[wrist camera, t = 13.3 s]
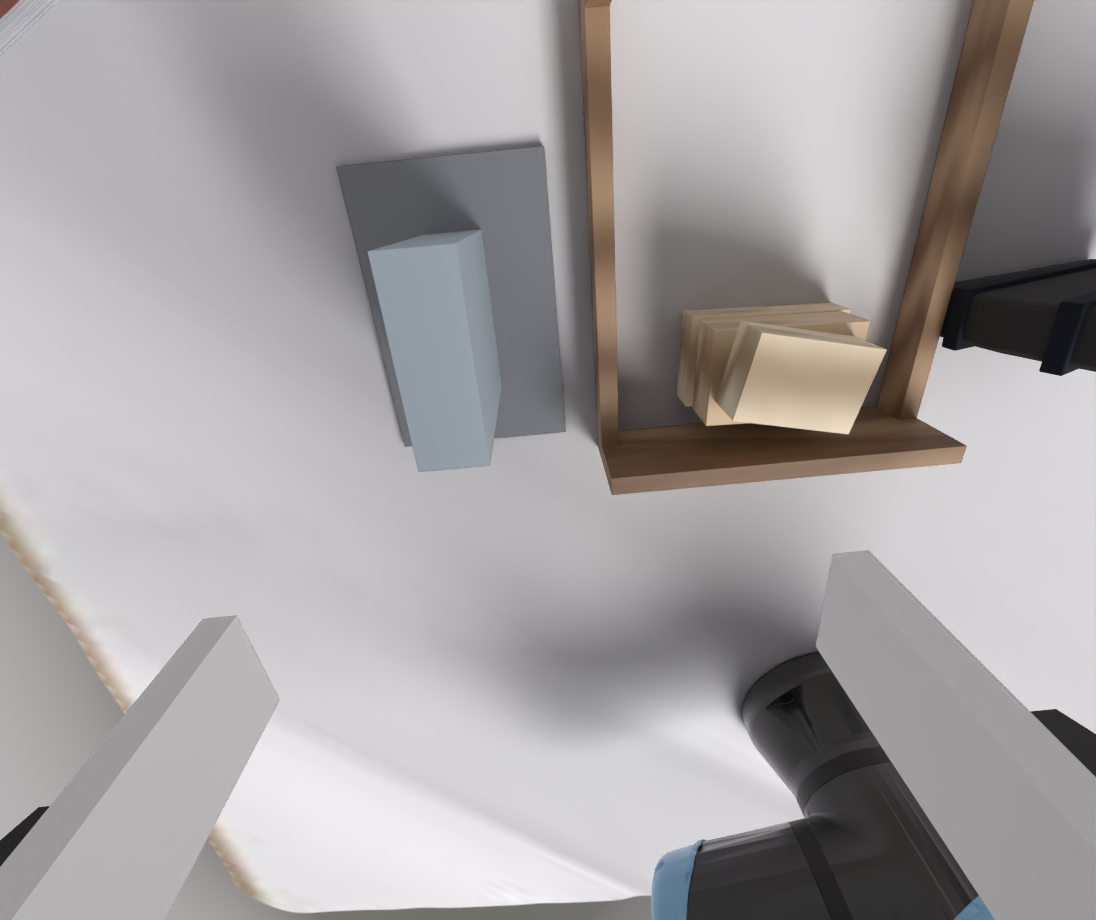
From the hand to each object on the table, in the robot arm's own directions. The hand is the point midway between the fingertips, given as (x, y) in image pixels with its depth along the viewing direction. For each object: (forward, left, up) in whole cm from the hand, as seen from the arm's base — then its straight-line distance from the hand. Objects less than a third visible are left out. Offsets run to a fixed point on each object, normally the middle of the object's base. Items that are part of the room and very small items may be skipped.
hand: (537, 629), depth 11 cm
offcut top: (-2, -15, -20) cm, 25 cm away
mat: (+2, +4, -26) cm, 26 cm away
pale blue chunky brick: (+2, +4, -25) cm, 26 cm away
